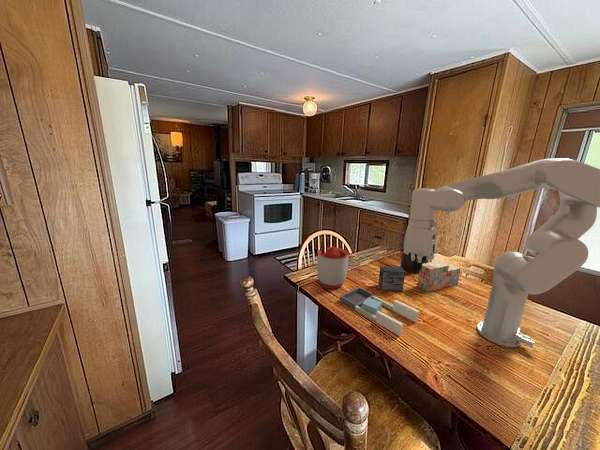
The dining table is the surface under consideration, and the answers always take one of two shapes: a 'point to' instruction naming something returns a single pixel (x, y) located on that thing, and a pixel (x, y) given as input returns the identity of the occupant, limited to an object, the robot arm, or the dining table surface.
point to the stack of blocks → (437, 276)
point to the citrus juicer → (332, 267)
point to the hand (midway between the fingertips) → (416, 270)
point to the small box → (391, 278)
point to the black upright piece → (408, 263)
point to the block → (372, 305)
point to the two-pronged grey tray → (360, 295)
